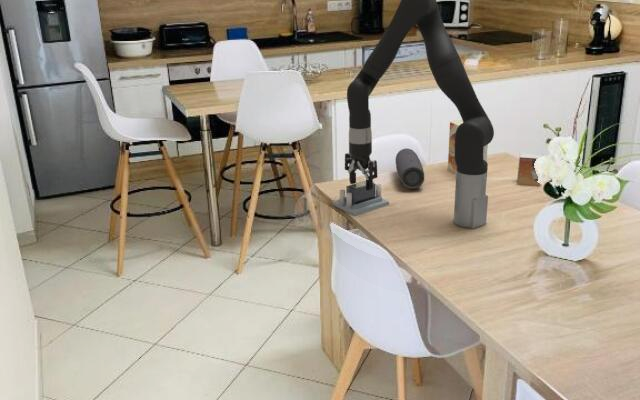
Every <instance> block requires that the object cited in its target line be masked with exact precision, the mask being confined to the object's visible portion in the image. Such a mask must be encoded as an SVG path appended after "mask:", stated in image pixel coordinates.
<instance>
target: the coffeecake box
mask: <svg viewBox="0 0 640 400" xmlns="http://www.w3.org/2000/svg"><path fill="white" fill-rule="evenodd" d="M462 123H463V120H462V119H461V120H453V121H449V134H448V136H449V137H448V155H447V160H448V161H447V171H449V172H450V173H452V174H455V175H456V170H457V165H456V162H455V134H456V130H457V128H458V126H459V125H460V124H462ZM488 145H489V144H488ZM488 145H486V146H484V149H483V160H485V161H486V162H487V159H488V147H489V146H488ZM487 163H488V162H487Z"/></svg>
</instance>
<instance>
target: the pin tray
mask: <svg viewBox="0 0 640 400" xmlns="http://www.w3.org/2000/svg"><path fill="white" fill-rule="evenodd" d="M373 183H375V181H373ZM389 205H390V201H389V200H386V199H384V198H383V197H382V184H379V183H378V184H376V195H375V199H372V200H369V201H365V202H362V203H359V204H355V205H353V206H352V193H346V189H340V190H339V199H337V200H333V201H332V206H334V207H336V208H337V209H340V210H342V211H344V212H347V213H348V214H351V215H352V216H357V215H360V214H361V215H362V214H364V213H367V212H371V211H373V210H377V209H379V208H384V207H386V206H389Z"/></svg>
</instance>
